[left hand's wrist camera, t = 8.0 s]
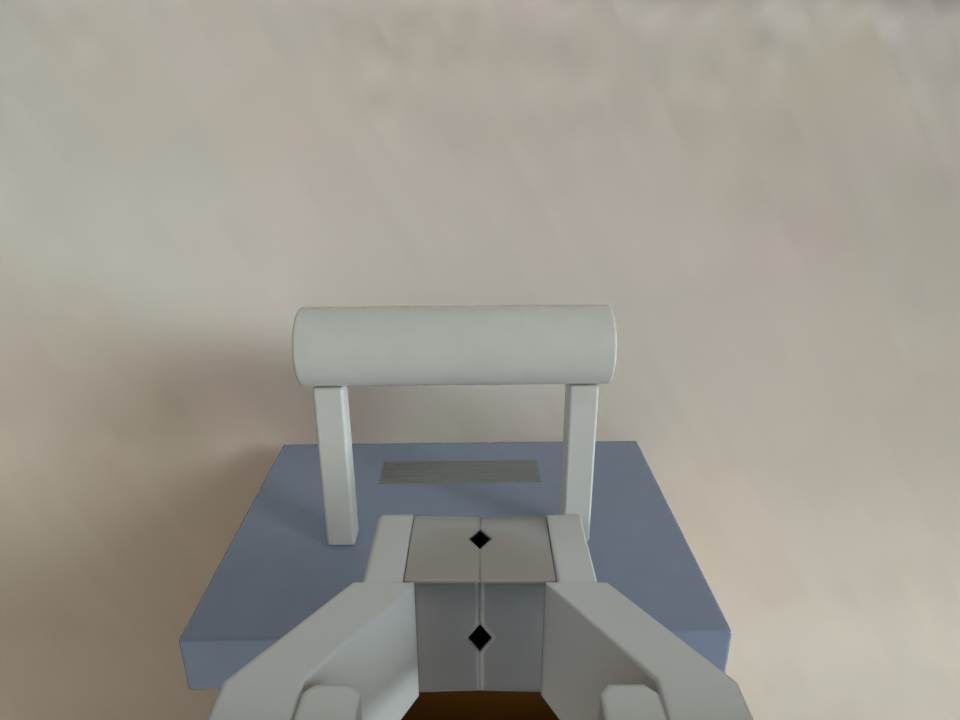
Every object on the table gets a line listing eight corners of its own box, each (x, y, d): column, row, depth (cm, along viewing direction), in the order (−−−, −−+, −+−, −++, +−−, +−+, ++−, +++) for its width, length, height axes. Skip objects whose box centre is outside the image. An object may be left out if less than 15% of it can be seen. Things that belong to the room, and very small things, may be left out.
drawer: (261, 259, 17) (121, 365, 10) (653, 256, 17) (777, 360, 10) (331, 844, 25) (278, 1131, 18) (601, 839, 25) (652, 1122, 18)
